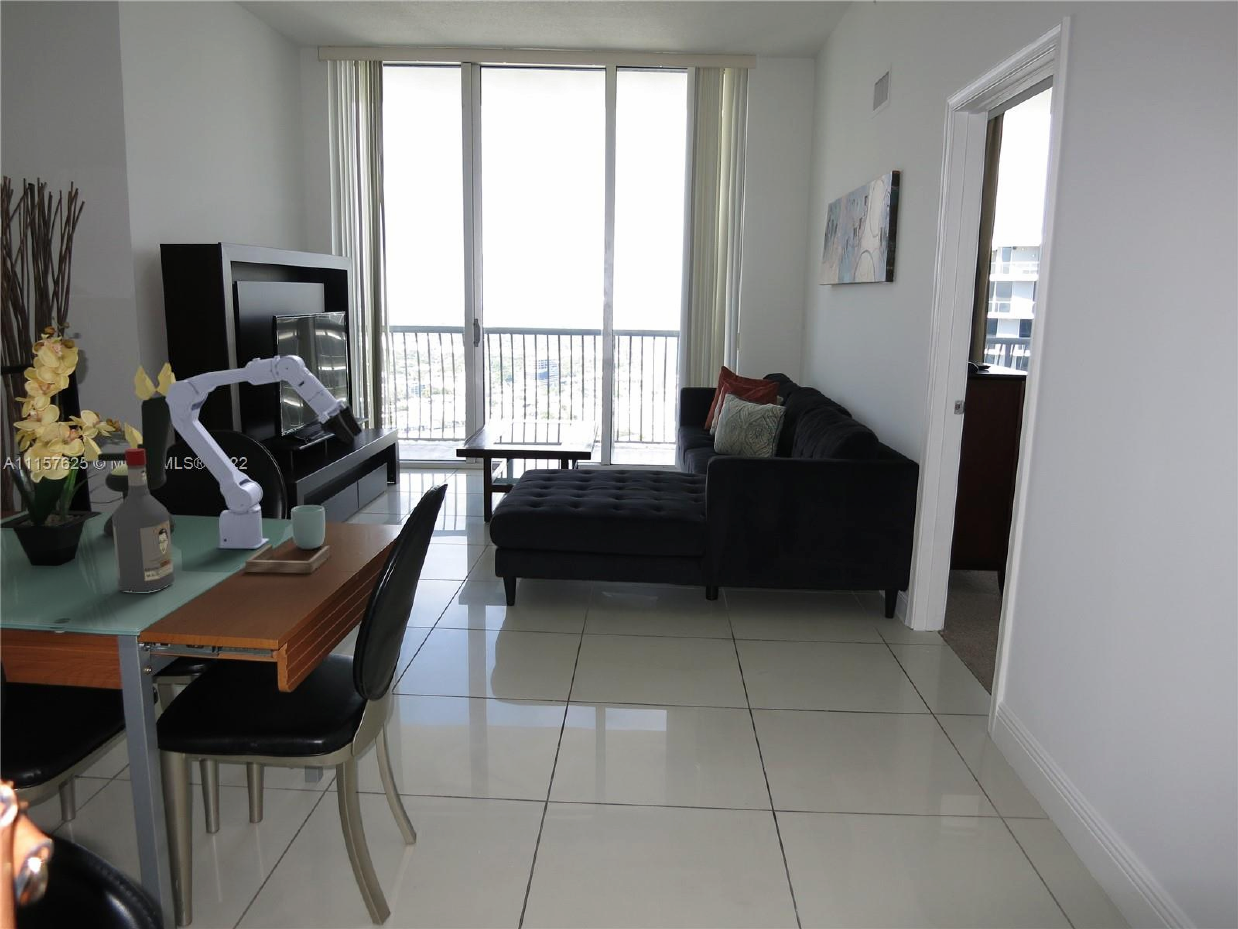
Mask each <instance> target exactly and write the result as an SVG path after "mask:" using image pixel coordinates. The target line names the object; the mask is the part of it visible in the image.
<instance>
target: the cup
mask: <svg viewBox="0 0 1238 929" xmlns="http://www.w3.org/2000/svg"><path fill="white" fill-rule="evenodd" d="M290 517H291V518H290V519H291V532H292V533H291V534H292V538H293V542H294V544H295V545H296V547H297V548H299V549H301V550H313V549H314V550H315V549H317V548H319V547H320V546H322V544H323V543H324V541H325V535H326V512H325V507H324V506H323V505H318V504H316V505H315V504H308V505H307V504H305V505H299V506H298V505H297V506H295V507H293V508H291V510H290Z"/></svg>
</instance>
